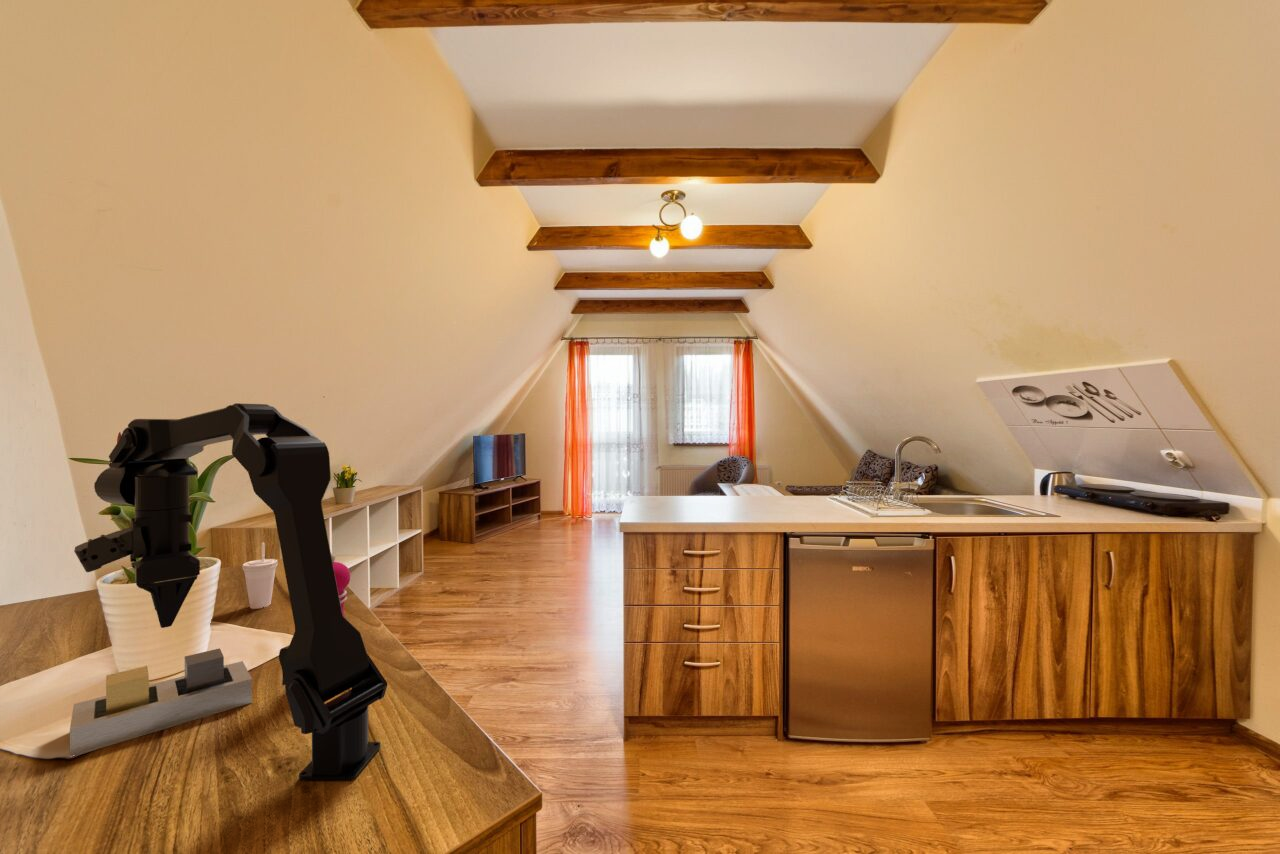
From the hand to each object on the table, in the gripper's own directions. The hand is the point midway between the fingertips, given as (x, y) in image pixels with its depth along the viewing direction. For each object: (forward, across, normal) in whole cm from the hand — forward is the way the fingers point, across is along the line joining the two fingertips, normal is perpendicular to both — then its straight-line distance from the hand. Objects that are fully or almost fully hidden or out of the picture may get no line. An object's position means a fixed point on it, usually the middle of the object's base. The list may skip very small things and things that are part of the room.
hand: (163, 618), depth 75 cm
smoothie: (+13, -42, +19) cm, 48 cm away
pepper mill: (+13, +6, +19) cm, 24 cm away
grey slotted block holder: (+13, +2, 0) cm, 13 cm away
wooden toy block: (+13, +2, -4) cm, 14 cm away
